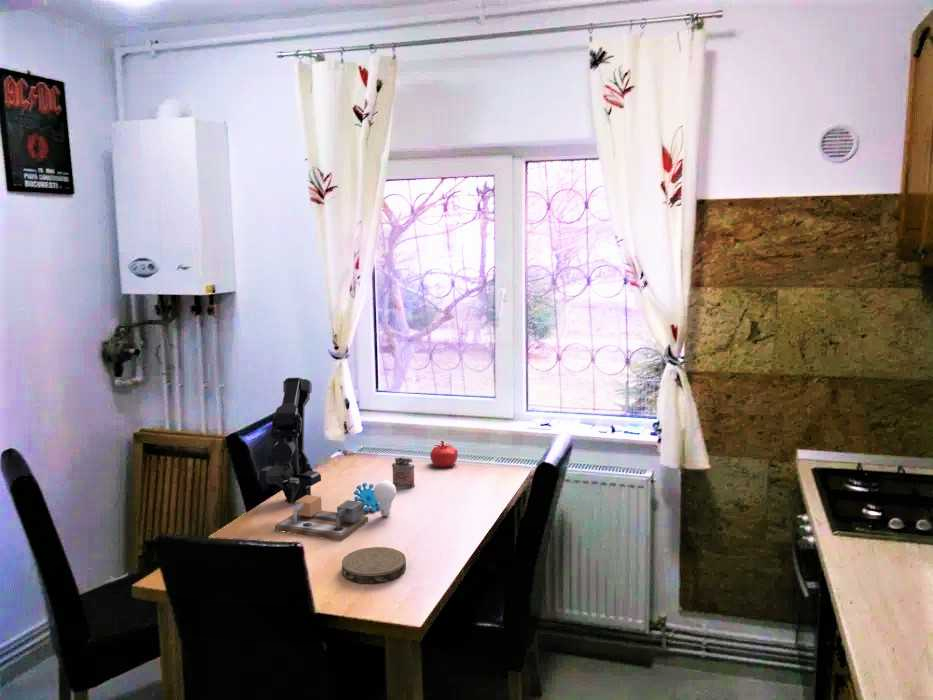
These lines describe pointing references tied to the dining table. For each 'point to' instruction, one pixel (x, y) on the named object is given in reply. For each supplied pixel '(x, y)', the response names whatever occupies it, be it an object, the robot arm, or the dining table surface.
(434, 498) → the dining table surface
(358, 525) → the base
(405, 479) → the flat bottle
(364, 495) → the gear
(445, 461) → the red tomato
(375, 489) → the light bulb
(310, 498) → the sliding jaw
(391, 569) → the brown round disc
